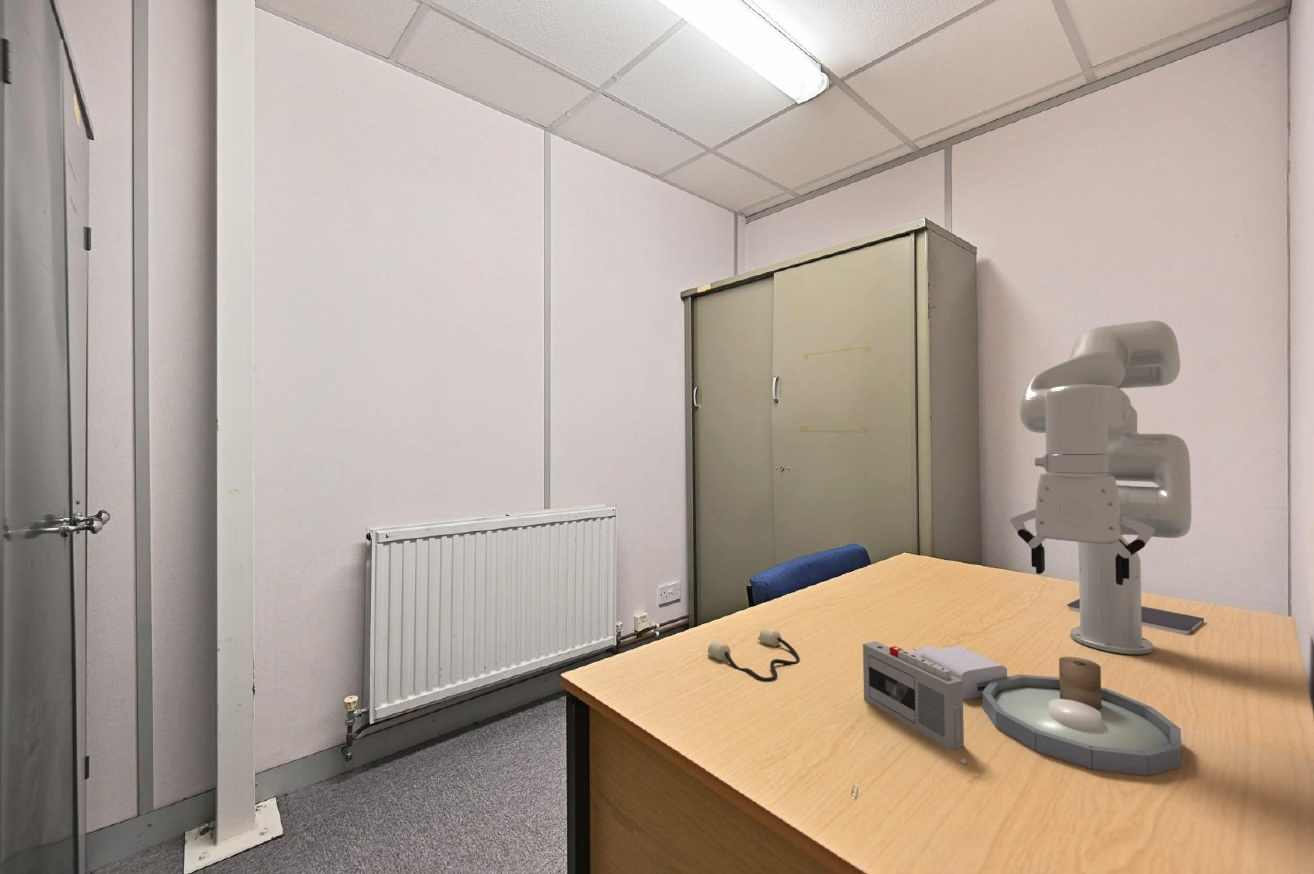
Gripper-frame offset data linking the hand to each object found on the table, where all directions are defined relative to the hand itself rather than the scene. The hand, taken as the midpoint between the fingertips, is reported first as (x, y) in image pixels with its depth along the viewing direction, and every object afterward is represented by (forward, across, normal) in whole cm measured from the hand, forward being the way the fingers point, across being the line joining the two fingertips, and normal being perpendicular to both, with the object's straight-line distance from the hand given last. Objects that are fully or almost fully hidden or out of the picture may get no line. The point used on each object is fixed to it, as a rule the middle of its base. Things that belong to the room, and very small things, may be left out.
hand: (1078, 577), depth 82 cm
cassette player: (+20, -18, -21) cm, 34 cm away
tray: (+20, 0, -7) cm, 21 cm away
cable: (+21, -47, -16) cm, 54 cm away
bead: (+19, 0, 0) cm, 19 cm away
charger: (+21, -18, -1) cm, 28 cm away
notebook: (+21, +3, +60) cm, 64 cm away
